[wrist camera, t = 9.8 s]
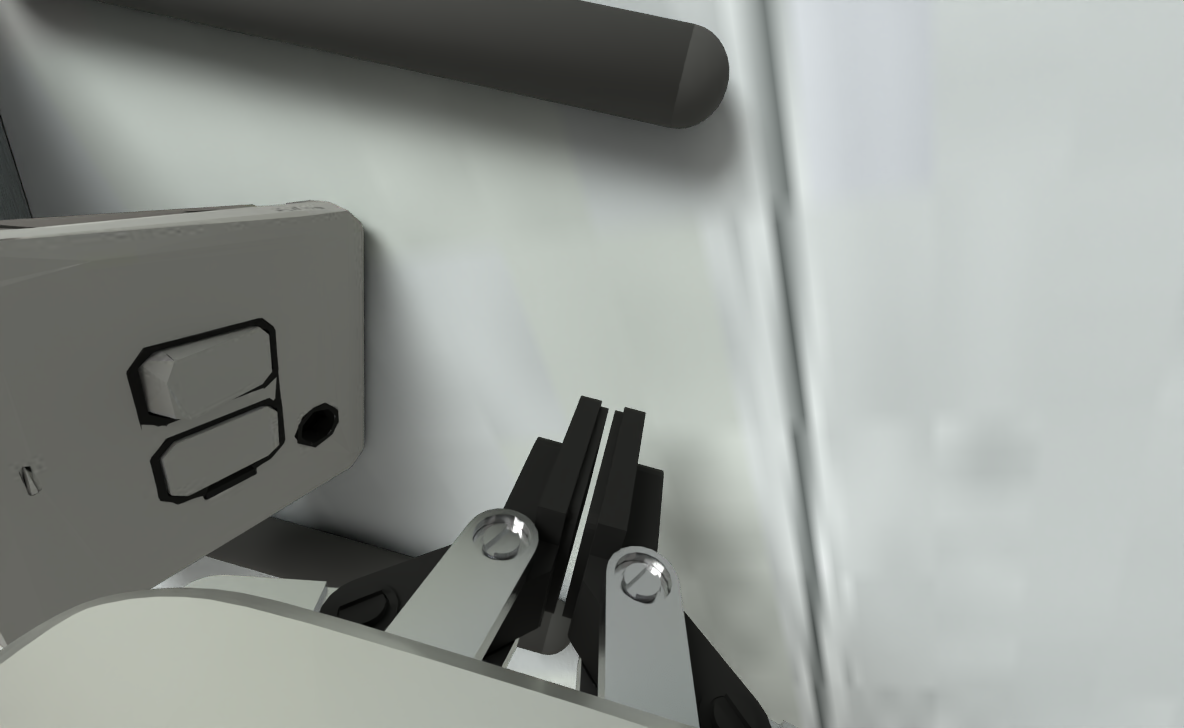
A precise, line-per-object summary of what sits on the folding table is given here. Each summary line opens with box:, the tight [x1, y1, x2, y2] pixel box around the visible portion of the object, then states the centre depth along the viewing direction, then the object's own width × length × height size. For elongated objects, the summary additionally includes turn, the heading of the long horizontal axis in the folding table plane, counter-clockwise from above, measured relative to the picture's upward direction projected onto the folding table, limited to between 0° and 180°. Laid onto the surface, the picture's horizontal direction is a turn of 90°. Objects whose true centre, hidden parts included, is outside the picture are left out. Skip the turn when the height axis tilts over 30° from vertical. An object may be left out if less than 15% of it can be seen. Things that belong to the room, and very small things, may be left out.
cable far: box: [206, 517, 571, 655], centre depth 20 cm, size 20×2×2 cm, turn 78°
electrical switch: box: [0, 200, 364, 648], centre depth 13 cm, size 9×5×9 cm, turn 167°
